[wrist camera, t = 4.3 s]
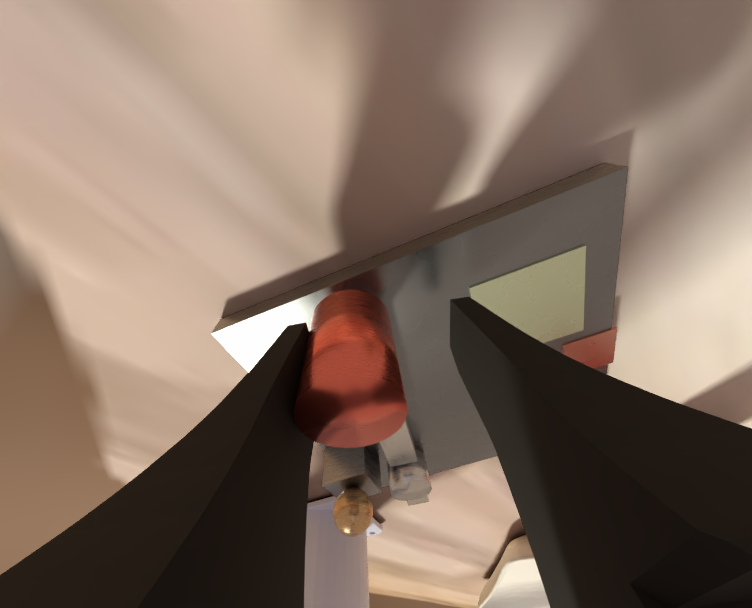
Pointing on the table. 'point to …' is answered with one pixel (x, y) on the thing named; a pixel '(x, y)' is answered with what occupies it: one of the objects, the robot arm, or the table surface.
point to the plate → (432, 315)
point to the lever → (359, 389)
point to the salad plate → (515, 580)
